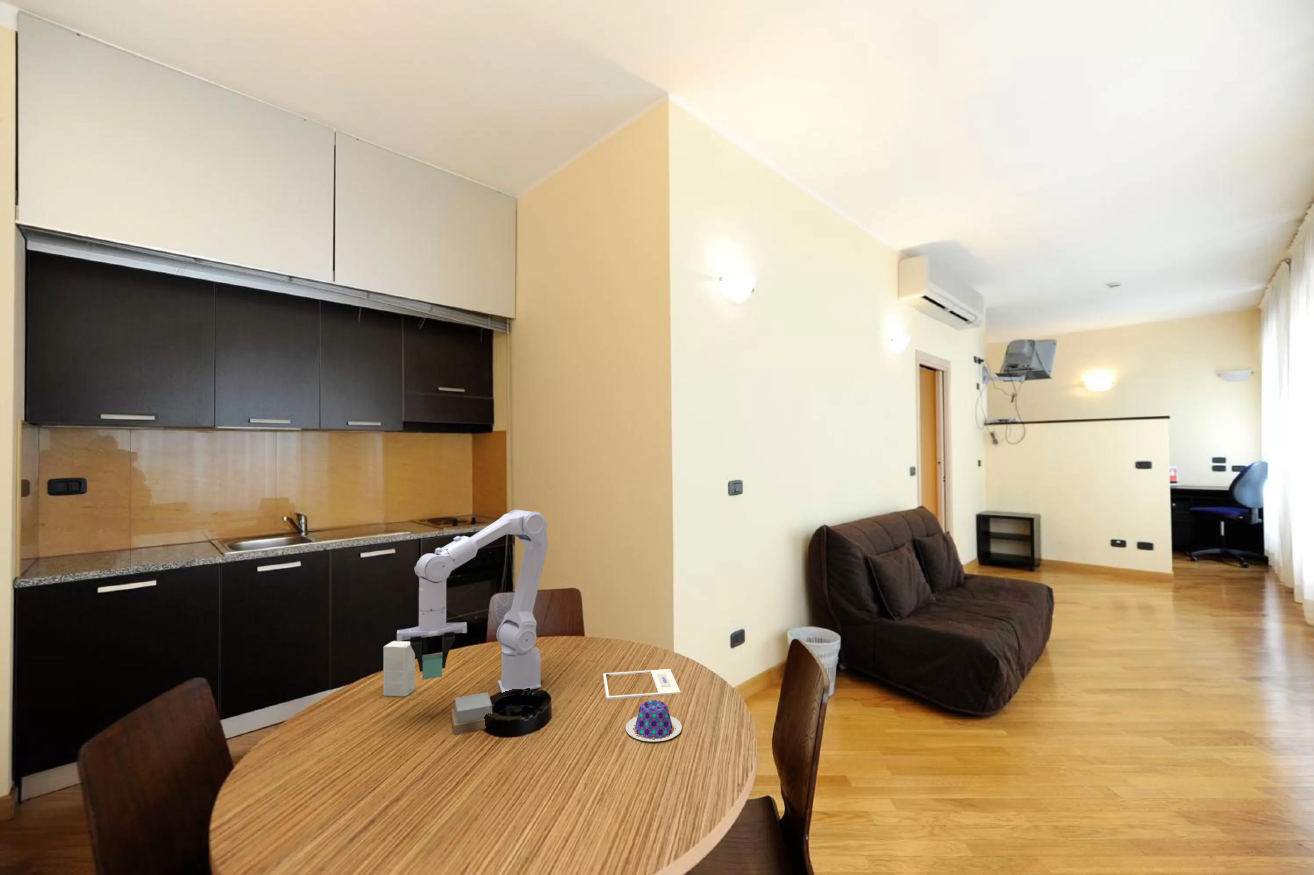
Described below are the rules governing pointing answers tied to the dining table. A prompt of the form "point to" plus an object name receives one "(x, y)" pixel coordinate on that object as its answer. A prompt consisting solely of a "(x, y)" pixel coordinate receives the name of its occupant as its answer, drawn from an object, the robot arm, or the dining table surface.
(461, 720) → the tower top
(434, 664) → the teal block
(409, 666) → the skincare box
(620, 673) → the photo frame
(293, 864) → the dining table surface
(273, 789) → the dining table surface
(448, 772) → the dining table surface
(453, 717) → the tower base
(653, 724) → the pudding
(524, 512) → the robot arm
